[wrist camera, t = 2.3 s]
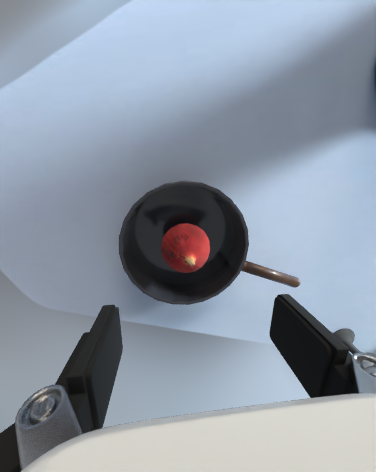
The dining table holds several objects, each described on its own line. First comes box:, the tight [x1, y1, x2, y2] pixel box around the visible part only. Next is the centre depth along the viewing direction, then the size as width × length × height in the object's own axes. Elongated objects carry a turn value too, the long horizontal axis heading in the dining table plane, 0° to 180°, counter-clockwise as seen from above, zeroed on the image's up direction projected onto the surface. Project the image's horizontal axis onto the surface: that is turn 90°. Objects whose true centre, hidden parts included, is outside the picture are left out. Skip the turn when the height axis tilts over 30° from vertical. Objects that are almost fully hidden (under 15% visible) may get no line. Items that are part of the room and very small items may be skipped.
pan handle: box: [241, 261, 300, 287], centre depth 25 cm, size 9×1×1 cm, turn 69°
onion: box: [161, 223, 210, 273], centre depth 22 cm, size 6×6×8 cm
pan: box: [119, 181, 249, 305], centre depth 24 cm, size 15×15×4 cm
